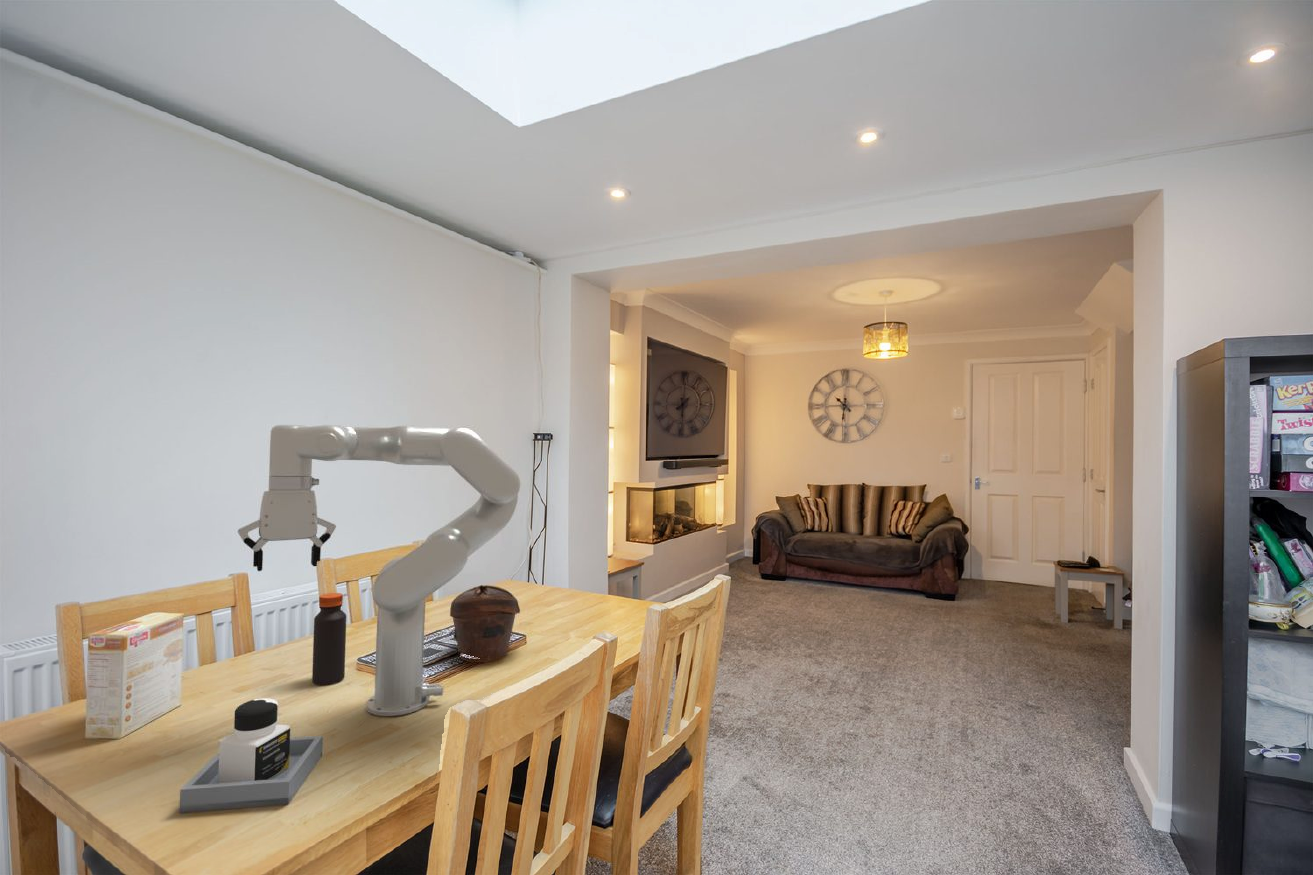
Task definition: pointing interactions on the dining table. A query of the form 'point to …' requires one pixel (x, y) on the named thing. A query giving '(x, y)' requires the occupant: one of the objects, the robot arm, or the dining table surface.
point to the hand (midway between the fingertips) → (287, 567)
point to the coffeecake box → (133, 674)
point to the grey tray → (252, 782)
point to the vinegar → (329, 641)
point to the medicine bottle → (254, 744)
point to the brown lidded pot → (484, 622)
